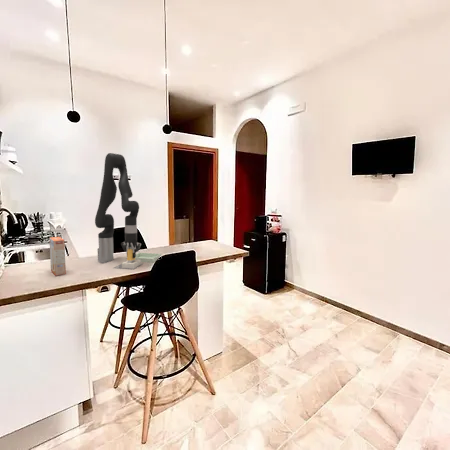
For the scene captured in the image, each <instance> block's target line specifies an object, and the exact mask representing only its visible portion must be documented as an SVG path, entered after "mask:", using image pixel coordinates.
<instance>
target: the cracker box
mask: <svg viewBox="0 0 450 450" xmlns="http://www.w3.org/2000/svg"><path fill="white" fill-rule="evenodd" d="M48 240H49V241H48V242H49V257H50V258H49V259H50V271H51V273H53V275H54V276H55V277H56V276H65V275H67V272H66V271H67V270H66V267H67V266H66V248H65V247H66V243H65V239H63V238H62V237H61V236H52V237H51V236H50V237H49V239H48Z"/></svg>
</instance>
